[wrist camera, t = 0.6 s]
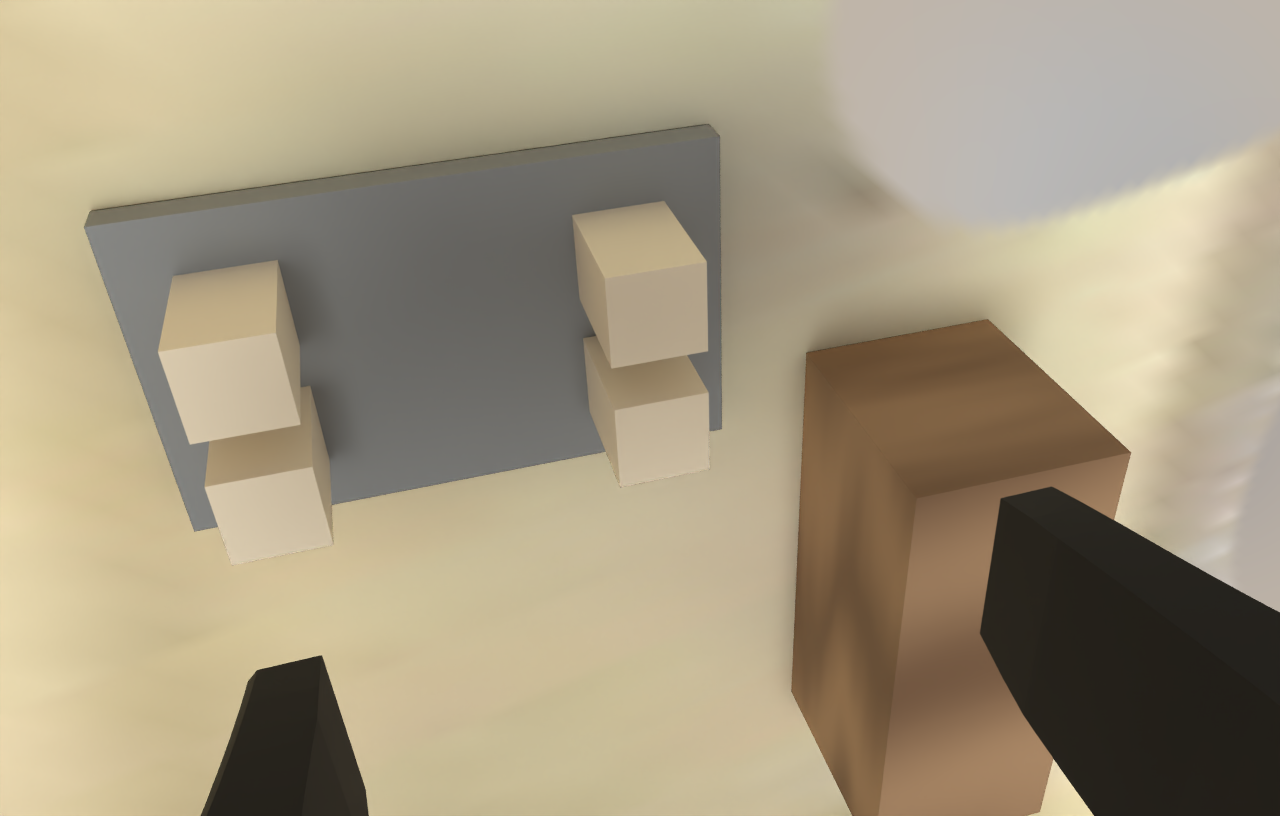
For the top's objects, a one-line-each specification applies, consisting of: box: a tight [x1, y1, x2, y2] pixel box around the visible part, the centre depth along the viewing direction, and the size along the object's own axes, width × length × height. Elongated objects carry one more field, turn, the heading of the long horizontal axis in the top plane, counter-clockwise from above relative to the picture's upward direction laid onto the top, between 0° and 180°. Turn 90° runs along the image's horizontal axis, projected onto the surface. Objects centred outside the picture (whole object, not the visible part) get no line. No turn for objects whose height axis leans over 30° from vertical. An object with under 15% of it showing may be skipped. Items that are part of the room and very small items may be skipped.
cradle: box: [84, 124, 722, 565], centre depth 18 cm, size 10×6×3 cm, turn 92°
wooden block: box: [792, 319, 1131, 816], centre depth 23 cm, size 10×4×5 cm, turn 2°
